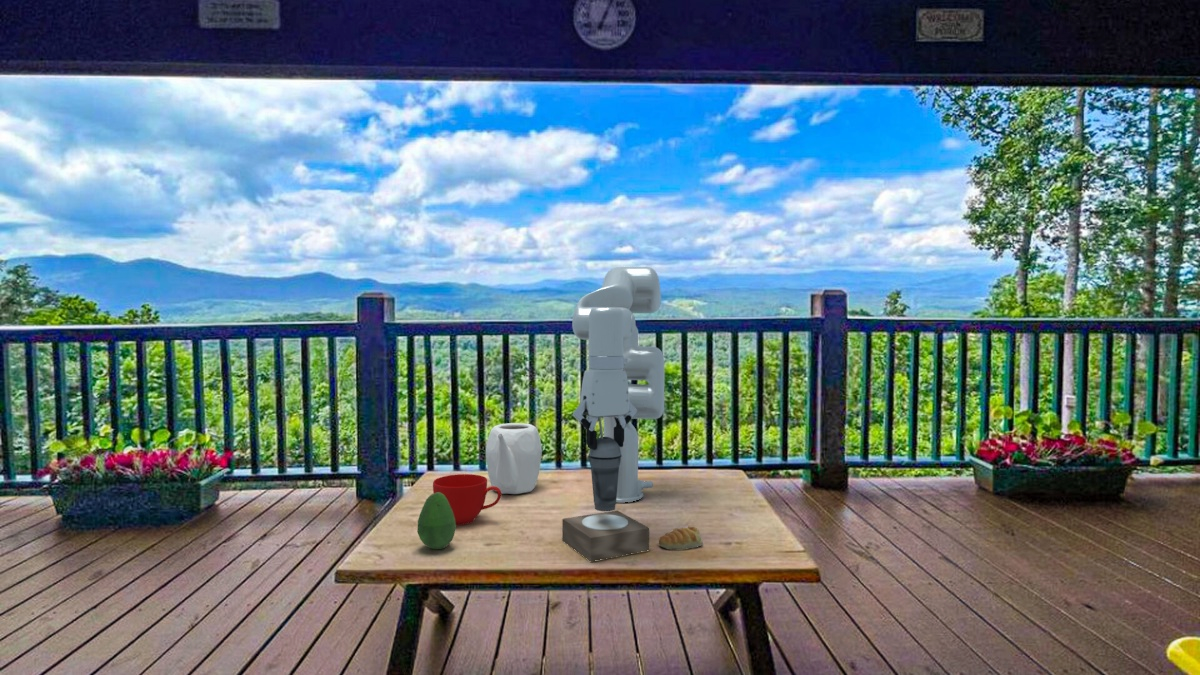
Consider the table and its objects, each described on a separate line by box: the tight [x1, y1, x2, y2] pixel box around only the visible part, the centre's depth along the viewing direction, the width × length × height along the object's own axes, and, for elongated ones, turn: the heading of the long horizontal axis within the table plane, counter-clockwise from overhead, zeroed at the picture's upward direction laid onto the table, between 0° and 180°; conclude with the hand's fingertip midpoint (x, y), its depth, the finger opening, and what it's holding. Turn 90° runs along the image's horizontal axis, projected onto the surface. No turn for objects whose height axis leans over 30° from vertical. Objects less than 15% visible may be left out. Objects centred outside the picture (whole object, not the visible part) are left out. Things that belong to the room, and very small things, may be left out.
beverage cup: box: [588, 417, 622, 512], centre depth 136 cm, size 7×7×20 cm
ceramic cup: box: [432, 473, 502, 526], centre depth 153 cm, size 13×17×10 cm
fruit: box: [416, 492, 457, 550], centre depth 135 cm, size 8×8×12 cm
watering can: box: [485, 422, 543, 495], centre depth 181 cm, size 16×27×19 cm, turn 172°
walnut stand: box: [561, 509, 650, 562], centre depth 137 cm, size 14×14×5 cm
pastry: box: [658, 525, 704, 550], centre depth 138 cm, size 9×7×4 cm
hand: (605, 446), depth 137 cm, fingers closed on beverage cup, 5 cm apart
